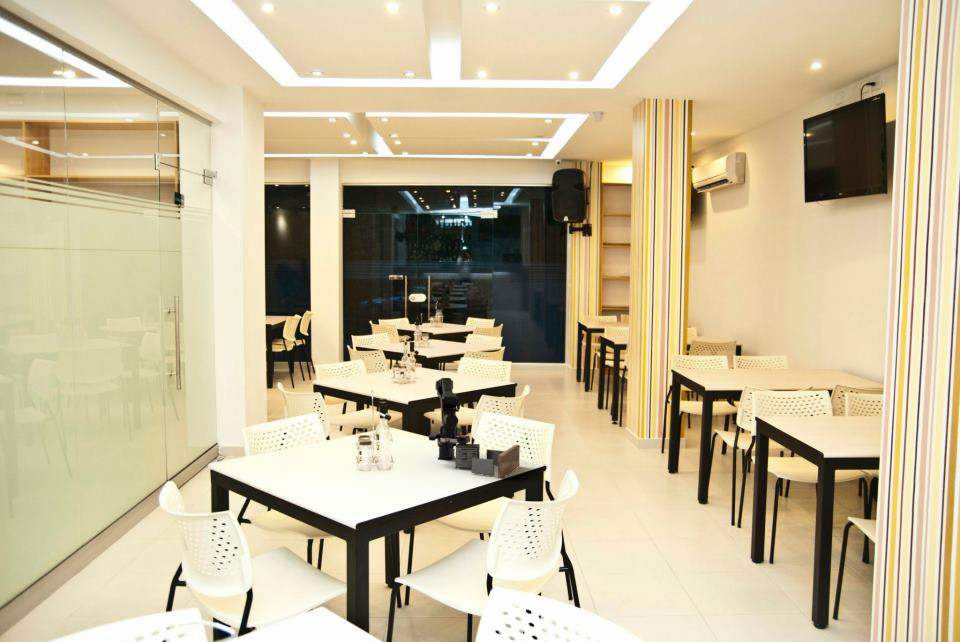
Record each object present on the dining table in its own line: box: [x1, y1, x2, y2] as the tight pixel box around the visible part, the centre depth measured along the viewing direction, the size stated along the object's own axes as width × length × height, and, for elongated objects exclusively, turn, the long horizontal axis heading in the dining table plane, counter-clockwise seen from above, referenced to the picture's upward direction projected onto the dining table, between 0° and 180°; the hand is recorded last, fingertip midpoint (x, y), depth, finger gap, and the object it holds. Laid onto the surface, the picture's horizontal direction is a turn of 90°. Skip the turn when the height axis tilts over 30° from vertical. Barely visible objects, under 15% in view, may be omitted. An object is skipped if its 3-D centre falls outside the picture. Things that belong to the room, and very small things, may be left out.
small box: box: [455, 443, 481, 470], centre depth 316 cm, size 11×6×10 cm, turn 84°
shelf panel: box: [497, 444, 521, 480], centre depth 308 cm, size 2×22×10 cm, turn 158°
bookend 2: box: [485, 448, 505, 467], centre depth 320 cm, size 10×1×7 cm, turn 67°
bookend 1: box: [471, 457, 495, 477], centre depth 304 cm, size 10×1×7 cm, turn 67°
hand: (449, 456), depth 319 cm, fingers closed
